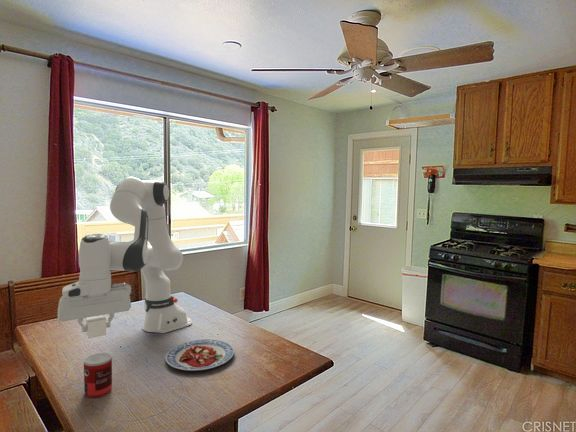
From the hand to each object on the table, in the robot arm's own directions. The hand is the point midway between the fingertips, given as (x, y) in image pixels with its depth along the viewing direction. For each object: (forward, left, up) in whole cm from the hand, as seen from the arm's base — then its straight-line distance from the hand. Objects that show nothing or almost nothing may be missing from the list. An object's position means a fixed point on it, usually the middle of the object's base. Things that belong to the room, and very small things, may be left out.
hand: (96, 329), depth 109 cm
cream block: (0, 0, -2) cm, 2 cm away
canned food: (0, 0, -21) cm, 21 cm away
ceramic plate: (-36, -4, -21) cm, 42 cm away
